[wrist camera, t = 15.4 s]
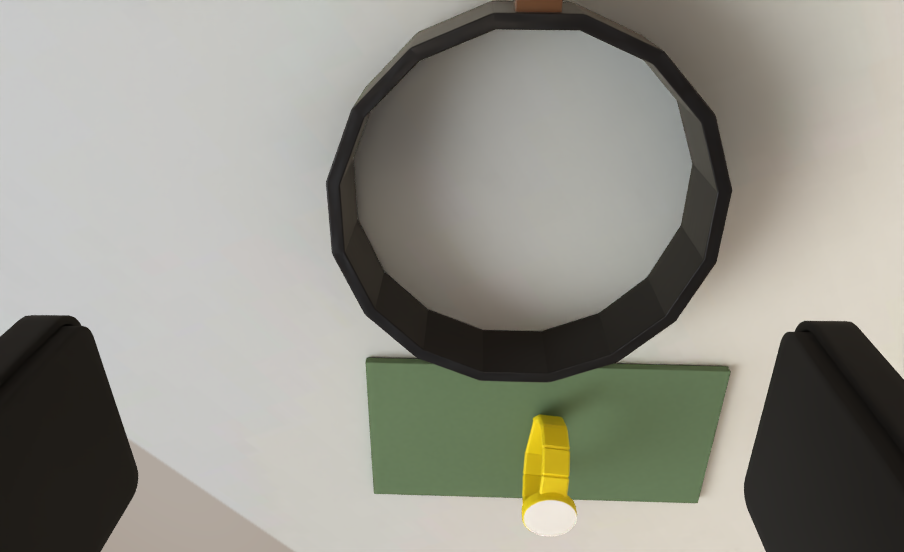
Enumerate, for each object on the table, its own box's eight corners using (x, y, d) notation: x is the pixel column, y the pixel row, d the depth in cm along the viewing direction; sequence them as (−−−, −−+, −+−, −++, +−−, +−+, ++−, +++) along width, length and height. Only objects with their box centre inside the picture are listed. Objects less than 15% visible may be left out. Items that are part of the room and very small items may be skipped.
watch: (525, 393, 38) (534, 470, 33) (574, 398, 38) (590, 476, 33) (508, 471, 41) (513, 554, 35) (553, 476, 41) (565, 560, 36)
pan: (670, 343, 37) (689, 386, 33) (354, 335, 37) (342, 377, 34) (801, -332, 23) (855, -373, 20) (306, -332, 24) (278, -372, 20)
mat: (727, 366, 37) (731, 371, 37) (695, 497, 42) (697, 503, 41) (366, 357, 38) (365, 362, 37) (374, 488, 42) (373, 494, 42)
